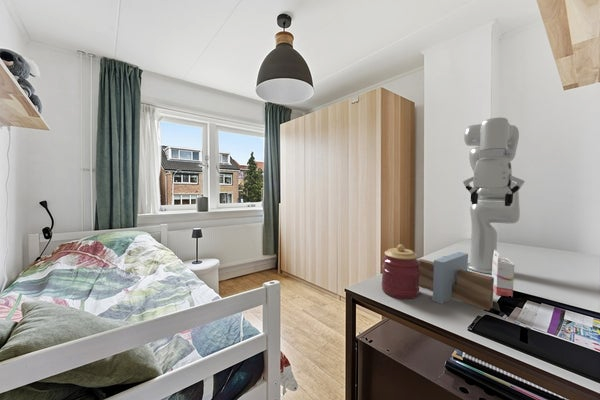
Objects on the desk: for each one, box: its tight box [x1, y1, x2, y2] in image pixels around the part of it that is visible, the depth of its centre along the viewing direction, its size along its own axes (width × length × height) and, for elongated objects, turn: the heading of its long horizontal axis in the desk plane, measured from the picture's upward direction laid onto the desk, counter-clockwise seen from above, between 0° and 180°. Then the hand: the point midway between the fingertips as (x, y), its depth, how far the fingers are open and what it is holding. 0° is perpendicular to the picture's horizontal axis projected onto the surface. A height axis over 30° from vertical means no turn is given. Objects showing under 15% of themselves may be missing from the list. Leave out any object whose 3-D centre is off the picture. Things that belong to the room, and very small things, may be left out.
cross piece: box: [432, 251, 469, 305], centre depth 87 cm, size 18×3×14 cm, turn 124°
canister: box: [381, 243, 420, 300], centre depth 91 cm, size 13×13×18 cm
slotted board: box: [418, 258, 494, 312], centre depth 88 cm, size 3×24×10 cm, turn 34°
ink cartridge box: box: [491, 250, 516, 298], centre depth 90 cm, size 9×5×15 cm, turn 152°
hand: (490, 204), depth 86 cm, fingers open, 9 cm apart
